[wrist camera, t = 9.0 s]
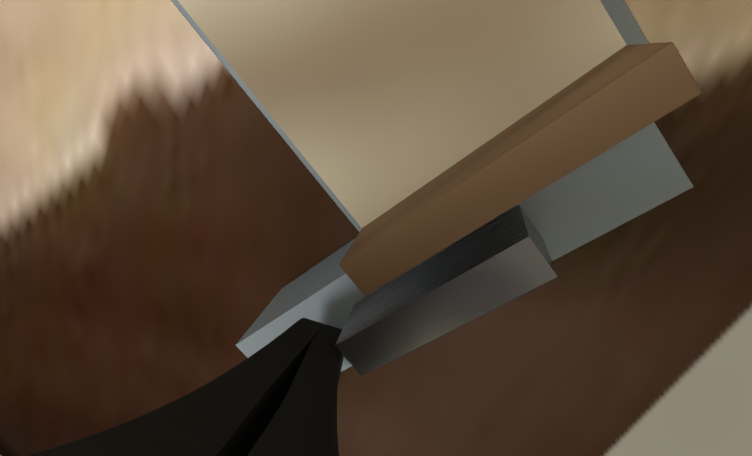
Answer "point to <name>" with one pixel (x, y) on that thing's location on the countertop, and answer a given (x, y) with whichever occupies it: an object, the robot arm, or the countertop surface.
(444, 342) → the countertop surface
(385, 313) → the grey rectangular bar
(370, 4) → the lid
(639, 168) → the box
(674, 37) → the countertop surface
